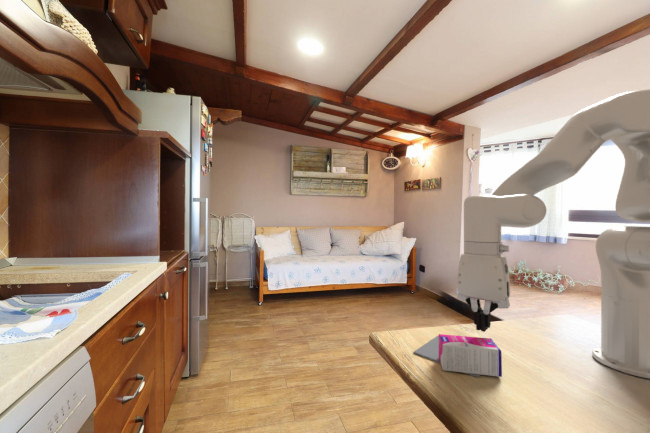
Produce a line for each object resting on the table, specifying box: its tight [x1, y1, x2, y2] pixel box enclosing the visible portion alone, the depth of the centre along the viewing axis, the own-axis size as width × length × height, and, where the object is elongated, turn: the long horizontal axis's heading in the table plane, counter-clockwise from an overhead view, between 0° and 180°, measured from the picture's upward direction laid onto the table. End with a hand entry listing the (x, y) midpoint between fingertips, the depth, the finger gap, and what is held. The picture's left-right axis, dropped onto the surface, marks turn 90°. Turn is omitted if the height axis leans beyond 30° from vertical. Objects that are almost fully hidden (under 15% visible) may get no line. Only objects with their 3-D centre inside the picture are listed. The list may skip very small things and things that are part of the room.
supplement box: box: [438, 333, 503, 378], centre depth 61 cm, size 6×6×12 cm
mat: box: [413, 334, 481, 378], centre depth 68 cm, size 14×14×1 cm
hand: (482, 329), depth 64 cm, fingers closed
